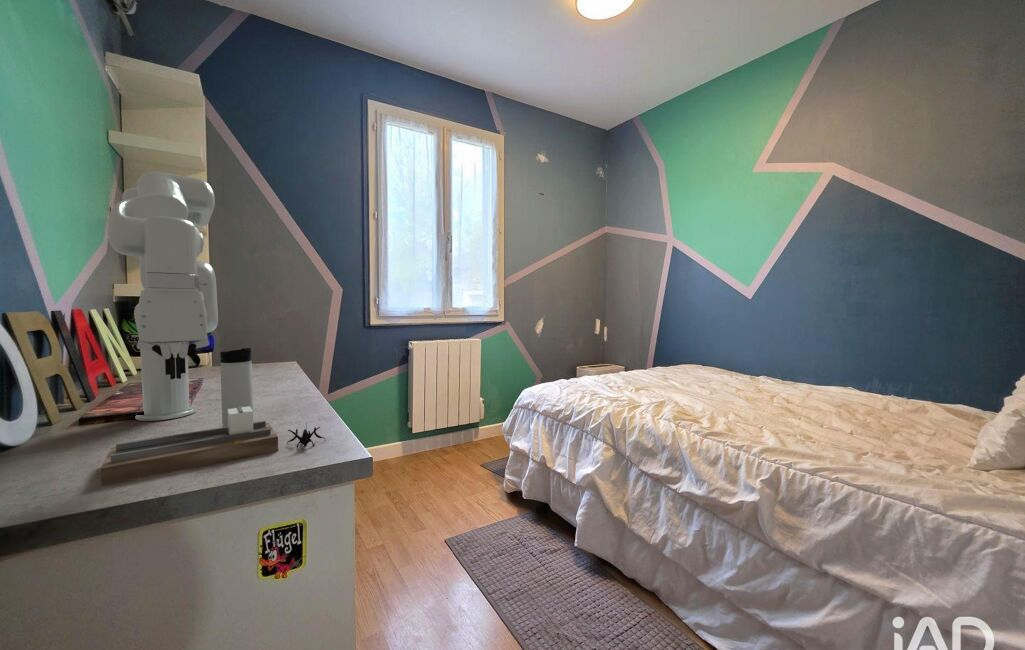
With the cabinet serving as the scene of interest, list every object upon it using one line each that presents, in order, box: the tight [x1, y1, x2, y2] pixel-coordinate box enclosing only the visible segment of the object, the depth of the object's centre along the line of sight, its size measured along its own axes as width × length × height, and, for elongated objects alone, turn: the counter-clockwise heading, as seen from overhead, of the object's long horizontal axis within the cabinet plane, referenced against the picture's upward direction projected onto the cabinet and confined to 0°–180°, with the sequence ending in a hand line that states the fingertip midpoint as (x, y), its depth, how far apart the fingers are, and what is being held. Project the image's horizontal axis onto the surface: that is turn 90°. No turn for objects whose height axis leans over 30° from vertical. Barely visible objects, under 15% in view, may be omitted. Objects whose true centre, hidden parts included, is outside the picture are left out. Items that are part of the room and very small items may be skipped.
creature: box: [286, 421, 327, 449], centre depth 87 cm, size 8×5×8 cm
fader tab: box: [228, 406, 254, 435], centre depth 84 cm, size 5×4×5 cm
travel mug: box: [219, 347, 254, 428], centre depth 97 cm, size 6×7×20 cm
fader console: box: [100, 420, 279, 486], centre depth 80 cm, size 12×26×4 cm, turn 129°
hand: (175, 377), depth 78 cm, fingers closed
